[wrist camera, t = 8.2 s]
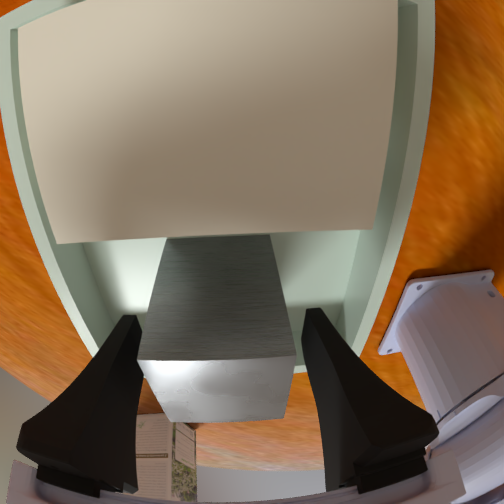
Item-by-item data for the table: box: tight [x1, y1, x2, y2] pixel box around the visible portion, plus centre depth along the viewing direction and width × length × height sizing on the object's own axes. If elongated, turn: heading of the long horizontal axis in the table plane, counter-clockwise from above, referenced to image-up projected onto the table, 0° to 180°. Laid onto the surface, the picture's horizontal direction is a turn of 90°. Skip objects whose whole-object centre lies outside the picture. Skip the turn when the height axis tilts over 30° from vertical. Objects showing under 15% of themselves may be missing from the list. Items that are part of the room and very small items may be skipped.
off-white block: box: [18, 0, 398, 244], centre depth 9 cm, size 10×7×5 cm
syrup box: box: [123, 413, 197, 502], centre depth 23 cm, size 6×6×14 cm
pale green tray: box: [0, 0, 435, 378], centre depth 13 cm, size 16×20×4 cm
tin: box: [137, 235, 297, 423], centre depth 13 cm, size 5×5×7 cm
